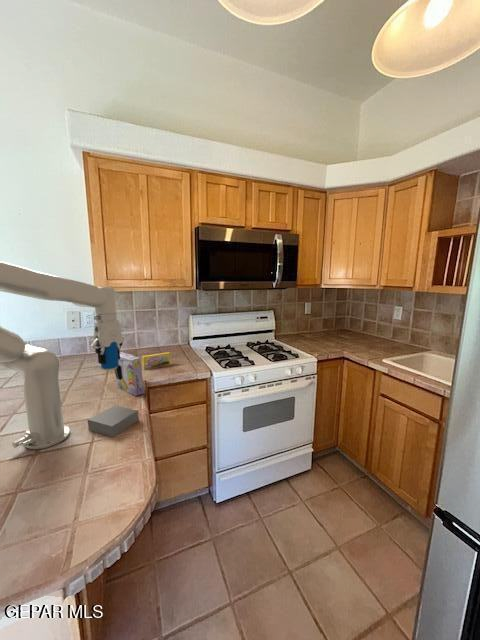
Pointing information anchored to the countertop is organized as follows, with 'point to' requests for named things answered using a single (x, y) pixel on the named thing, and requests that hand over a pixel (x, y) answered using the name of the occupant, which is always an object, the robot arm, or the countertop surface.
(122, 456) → the countertop surface
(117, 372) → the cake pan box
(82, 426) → the countertop surface
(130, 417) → the block
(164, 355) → the candy box
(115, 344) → the beverage can
